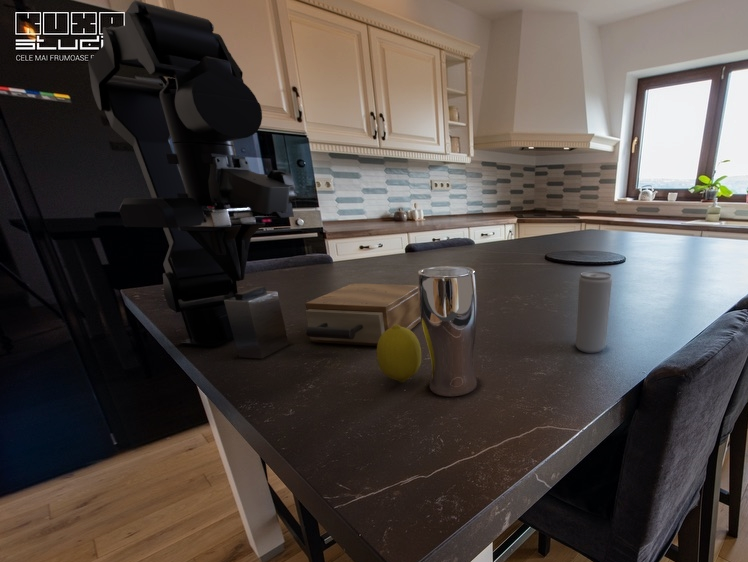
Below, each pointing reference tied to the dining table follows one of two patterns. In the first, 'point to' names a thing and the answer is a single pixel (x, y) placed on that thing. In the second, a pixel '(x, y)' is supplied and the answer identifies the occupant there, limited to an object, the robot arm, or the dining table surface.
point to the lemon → (399, 353)
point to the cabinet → (374, 304)
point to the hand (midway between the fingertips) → (238, 280)
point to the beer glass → (449, 326)
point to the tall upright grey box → (256, 322)
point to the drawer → (344, 325)
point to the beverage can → (593, 311)
